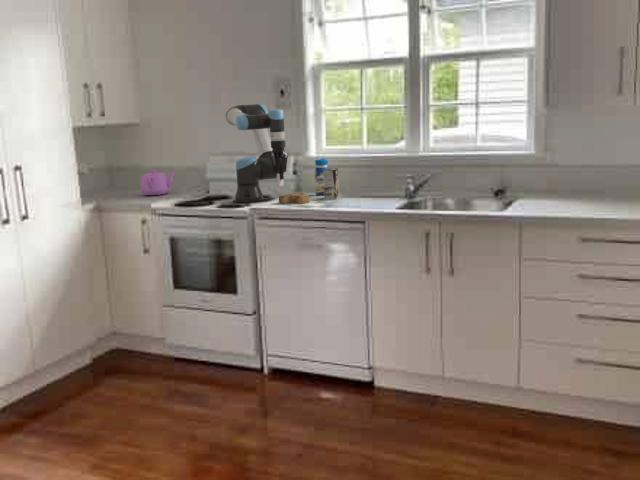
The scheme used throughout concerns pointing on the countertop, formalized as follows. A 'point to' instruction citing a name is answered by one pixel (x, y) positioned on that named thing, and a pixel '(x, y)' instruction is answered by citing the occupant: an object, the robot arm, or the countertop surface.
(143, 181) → the teapot
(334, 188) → the coffee box
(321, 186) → the beverage bottle
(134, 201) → the countertop surface
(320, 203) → the slate board
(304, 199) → the walnut t block
